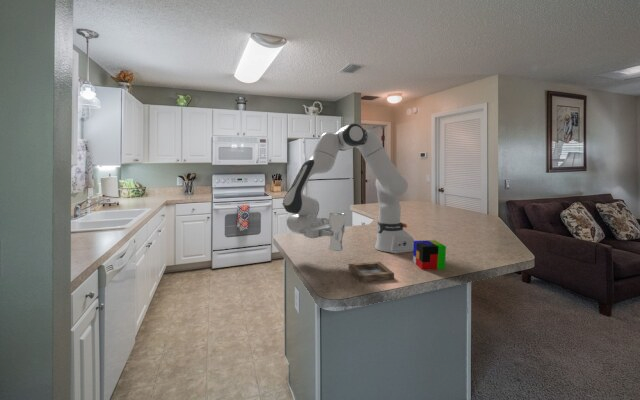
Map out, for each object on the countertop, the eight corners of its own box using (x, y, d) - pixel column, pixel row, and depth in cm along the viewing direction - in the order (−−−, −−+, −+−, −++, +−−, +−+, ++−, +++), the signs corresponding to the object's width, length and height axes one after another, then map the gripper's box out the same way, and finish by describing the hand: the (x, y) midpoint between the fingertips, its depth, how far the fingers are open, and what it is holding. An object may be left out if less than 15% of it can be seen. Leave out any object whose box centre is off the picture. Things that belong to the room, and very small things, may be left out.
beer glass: (333, 246, 133) (334, 212, 132) (347, 248, 129) (348, 213, 128) (324, 249, 127) (325, 213, 126) (338, 252, 124) (340, 215, 122)
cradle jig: (379, 267, 131) (379, 261, 131) (394, 279, 118) (394, 273, 118) (348, 269, 129) (348, 263, 128) (359, 282, 115) (359, 275, 115)
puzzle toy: (412, 262, 139) (413, 240, 137) (434, 261, 139) (435, 240, 138) (421, 269, 129) (423, 246, 128) (444, 269, 130) (446, 246, 128)
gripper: (297, 224, 129) (320, 229, 119) (329, 217, 143) (352, 221, 134) (297, 238, 130) (320, 244, 120) (329, 230, 144) (352, 235, 135)
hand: (337, 232), depth 127 cm, fingers closed on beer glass, 6 cm apart
